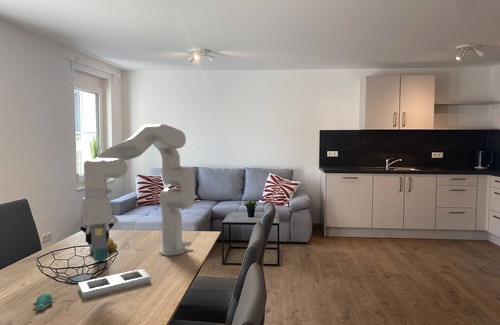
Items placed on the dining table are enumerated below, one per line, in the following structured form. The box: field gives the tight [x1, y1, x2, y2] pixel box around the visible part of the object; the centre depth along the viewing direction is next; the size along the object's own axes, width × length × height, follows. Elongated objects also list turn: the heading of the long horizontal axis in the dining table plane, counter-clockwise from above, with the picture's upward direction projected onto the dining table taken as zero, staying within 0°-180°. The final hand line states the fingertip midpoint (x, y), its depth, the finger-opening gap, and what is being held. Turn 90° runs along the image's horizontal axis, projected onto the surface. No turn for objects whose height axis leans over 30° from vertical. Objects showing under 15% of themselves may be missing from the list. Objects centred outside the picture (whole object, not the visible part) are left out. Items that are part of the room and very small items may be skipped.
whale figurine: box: [32, 293, 54, 311], centre depth 114 cm, size 6×7×4 cm
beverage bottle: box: [92, 242, 109, 262], centre depth 156 cm, size 6×7×20 cm
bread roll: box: [89, 237, 118, 255], centre depth 170 cm, size 13×10×8 cm
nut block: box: [88, 224, 107, 250], centre depth 126 cm, size 5×5×8 cm
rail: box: [77, 268, 152, 300], centre depth 130 cm, size 24×10×2 cm, turn 125°
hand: (97, 242), depth 126 cm, fingers closed on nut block, 5 cm apart
